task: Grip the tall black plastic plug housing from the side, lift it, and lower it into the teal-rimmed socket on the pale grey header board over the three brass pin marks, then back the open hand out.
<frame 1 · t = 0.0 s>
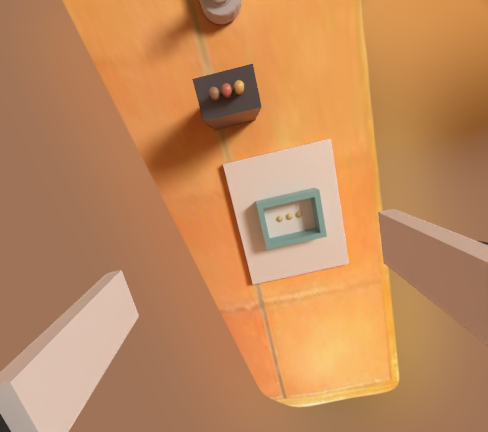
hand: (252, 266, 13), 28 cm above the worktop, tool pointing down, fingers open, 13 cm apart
header board: (288, 215, 41), on the worktop
plug housing: (231, 110, 38), on the worktop
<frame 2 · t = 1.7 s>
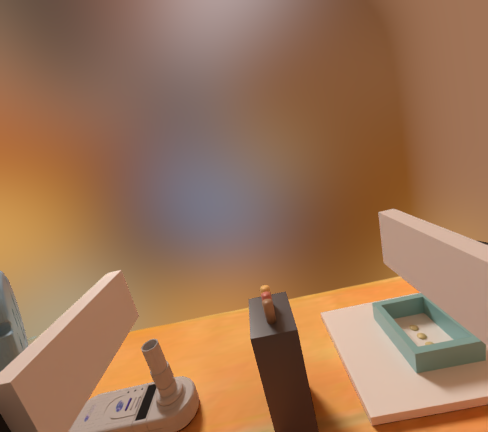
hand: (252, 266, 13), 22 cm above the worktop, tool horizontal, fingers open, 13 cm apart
electronic device: (139, 421, 31), on the worktop
header board: (422, 343, 32), on the worktop
plug housing: (292, 408, 28), on the worktop
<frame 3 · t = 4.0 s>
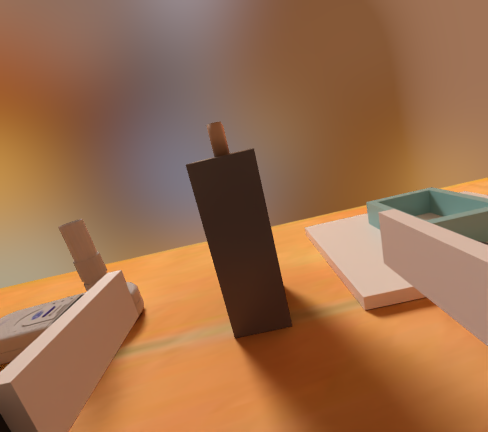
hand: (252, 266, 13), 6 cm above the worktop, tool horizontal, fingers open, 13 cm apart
electronic device: (66, 337, 24), on the worktop
header board: (429, 238, 25), on the worktop
plug housing: (260, 306, 21), on the worktop
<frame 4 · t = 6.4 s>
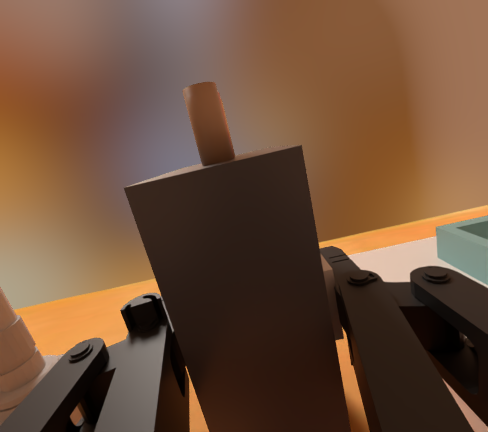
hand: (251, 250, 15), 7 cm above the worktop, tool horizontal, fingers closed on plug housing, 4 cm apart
plug housing: (288, 431, 12), on the worktop, touching gripper
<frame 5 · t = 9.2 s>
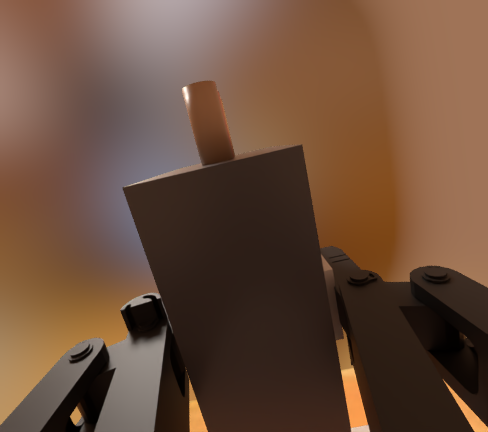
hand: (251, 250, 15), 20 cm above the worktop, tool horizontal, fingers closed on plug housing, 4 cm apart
when the fingers open (9 cm above the worktop, at t = 12.1 s): plug housing drops 1 cm, resting on header board.
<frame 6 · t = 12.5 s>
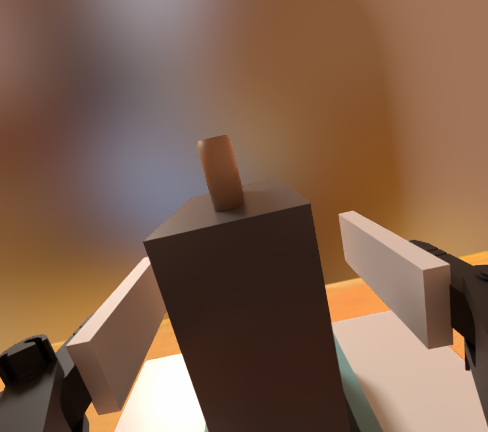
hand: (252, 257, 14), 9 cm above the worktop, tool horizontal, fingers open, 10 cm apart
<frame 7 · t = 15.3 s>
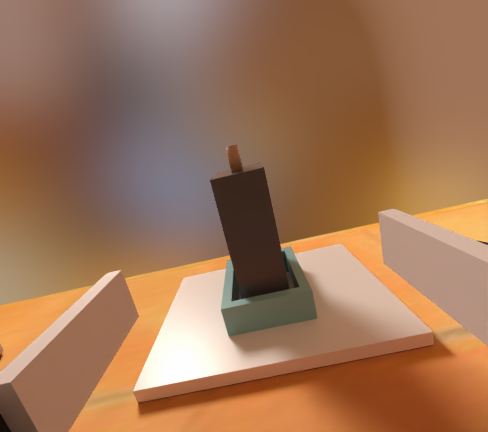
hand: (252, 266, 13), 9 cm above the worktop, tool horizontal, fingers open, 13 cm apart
header board: (269, 304, 25), on the worktop
plug housing: (267, 295, 25), point 1 cm above the worktop, touching header board
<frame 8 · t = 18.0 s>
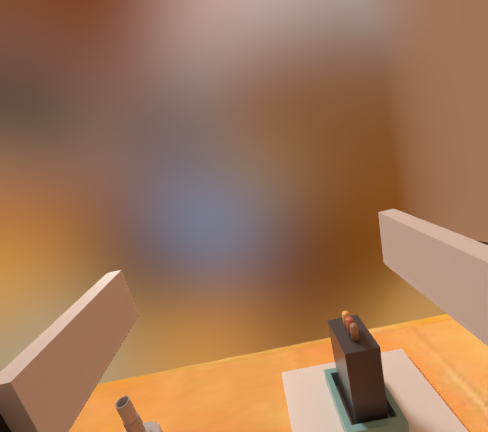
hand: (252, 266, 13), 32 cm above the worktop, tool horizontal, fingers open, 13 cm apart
header board: (363, 412, 36), on the worktop
plug housing: (362, 406, 35), point 1 cm above the worktop, touching header board
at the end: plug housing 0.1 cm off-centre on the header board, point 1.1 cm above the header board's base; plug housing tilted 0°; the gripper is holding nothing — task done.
